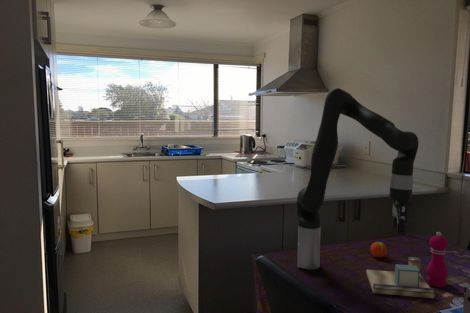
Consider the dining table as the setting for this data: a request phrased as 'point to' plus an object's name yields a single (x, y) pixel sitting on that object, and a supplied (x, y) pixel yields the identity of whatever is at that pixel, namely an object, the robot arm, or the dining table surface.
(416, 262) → the spice jar
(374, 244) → the clementine
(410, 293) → the shelf board
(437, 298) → the dining table surface
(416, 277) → the tea box
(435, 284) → the pepper mill
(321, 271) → the dining table surface
